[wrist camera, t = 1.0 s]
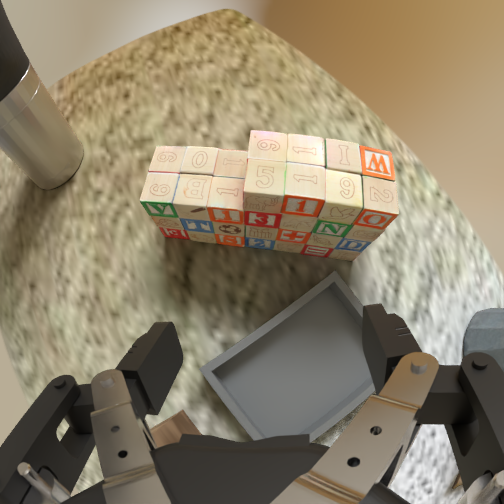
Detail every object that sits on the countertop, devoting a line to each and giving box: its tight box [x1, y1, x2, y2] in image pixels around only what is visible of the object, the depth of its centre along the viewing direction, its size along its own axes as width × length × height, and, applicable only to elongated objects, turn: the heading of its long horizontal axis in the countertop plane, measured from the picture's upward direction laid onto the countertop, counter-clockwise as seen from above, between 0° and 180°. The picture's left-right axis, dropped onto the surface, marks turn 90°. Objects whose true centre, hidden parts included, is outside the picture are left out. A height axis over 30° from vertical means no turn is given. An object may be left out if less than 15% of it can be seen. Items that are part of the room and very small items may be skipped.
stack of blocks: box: [140, 130, 399, 261], centre depth 29 cm, size 21×6×12 cm, turn 83°
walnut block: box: [150, 410, 202, 447], centre depth 21 cm, size 5×5×11 cm
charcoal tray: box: [199, 270, 375, 443], centre depth 28 cm, size 12×16×3 cm
